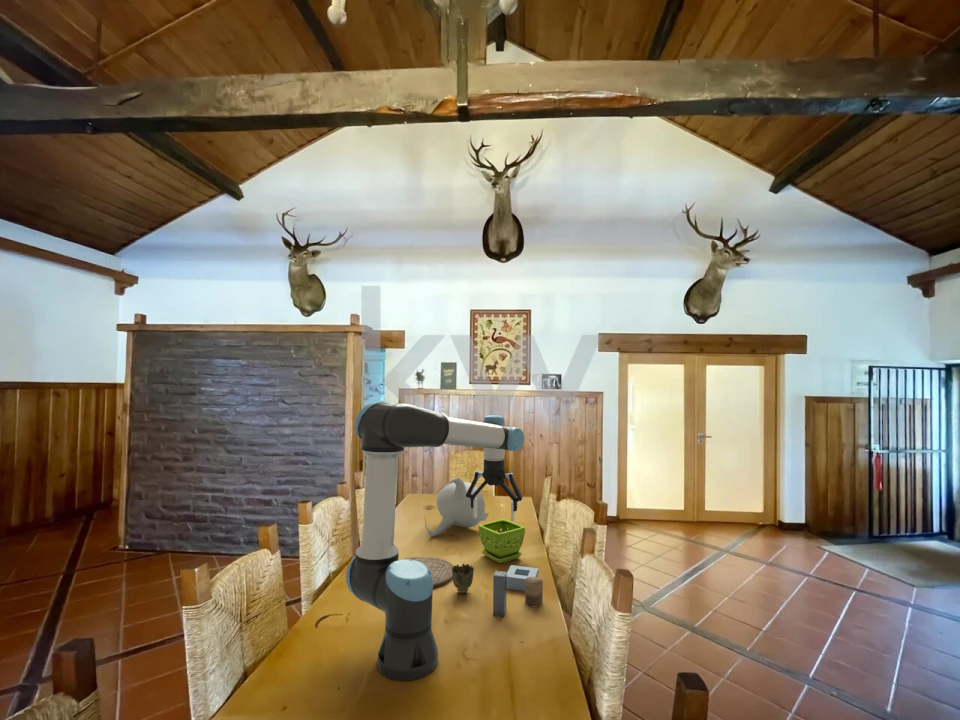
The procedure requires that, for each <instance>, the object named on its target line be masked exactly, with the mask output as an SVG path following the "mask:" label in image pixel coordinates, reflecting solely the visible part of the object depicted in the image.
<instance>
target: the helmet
mask: <svg viewBox="0 0 960 720" xmlns="http://www.w3.org/2000/svg"><path fill="white" fill-rule="evenodd" d="M471 484H472V482H468V481H464V480H463V479H462V478H461V477H454V479H451V480H450V481H449V482H447V483H445V484H444V485H443V486H442V487H440V488H439V490H438V491H436V492H435V493H434V494H433V496H435V495H436V494H437V496H436V507H437V511H438V512H439V514H440V516H441V517H442V519H441V521H440V523H439V524H438V526H437V527H436V528H435V529H434V530H432V531H431V530H429V528H428V526H427V521H426V519H424V524H425V528H426V530H427V531H426V532H427V534H428V535H429V537H430V538H434V537H436V536H439V535H440V534H442V533H443V532H445V531H447V530H448V529H449V528H450V527H451V526H457V527H461V528H467V529H468V528H472V527H473V528H474V527H476V526H477V525H478V524H479V523H480V522H484V521H486V520H487V518H488V516H489V512H486V513H485V507H486V504H485V500H484V497H483V494H482V491H480V492H479V493H478V494H477V495H476V497H475V498H477V517H476V518H473V508H471V499H470V498H469V497H466V493H467V492H468V490H469V488H470V486H471ZM478 488H479V487H477V486H476V485H475V487H474V489H473V491H472V493H471V494H474V492H475V491H476V490H477V489H478ZM425 515H426V514H424V515H423V516H424V517H423V518H426V516H425Z"/></svg>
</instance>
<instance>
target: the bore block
mask: <svg viewBox="0 0 960 720" xmlns="http://www.w3.org/2000/svg"><path fill="white" fill-rule="evenodd" d="M506 572H507V589H508V590H515V591H522V592H523V591H524V592H525V580H526V578H528V577H538V578H539V568H537V567H529V566H523V565H522V566H521V565H515V564H511V565H510V566H509V568H508V570H507V571H506Z"/></svg>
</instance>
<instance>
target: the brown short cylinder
mask: <svg viewBox="0 0 960 720" xmlns="http://www.w3.org/2000/svg"><path fill="white" fill-rule="evenodd" d="M543 582H544V581H543V579H542V578H541V577H539V576H538V577H528V578H526V580H525V591H524V592H525V593H524V594H525V597H524V599H525V600H524V602H525V604H526V605H527V606H529V607H532V606H538V607H540V605H541V606H542V605H543V604H544V603H543V602H544V601H543V594H544V593H543V590H544V589H543V587H544V586H543Z"/></svg>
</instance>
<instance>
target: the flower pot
mask: <svg viewBox="0 0 960 720" xmlns="http://www.w3.org/2000/svg"><path fill="white" fill-rule="evenodd" d="M478 531H479V537H480V542H481V545H482V546H483V548H484V549H482V550H481V553H482V554H483V555H484V557H487V558H488V559H490V560H491V561H494V562H495V563H497V564H498V565H500V564H502V563H507V562H509V561H513V560H516V559H518V558H520V557H521V556H522V555H523V553H522V552H520V550H521V548H522V546H523V543H524V539H525V533H526V527H525V526H523V525H522V524H519V523H516V522H514V521H511V520H508V519H502V518H501V519H498V520H494V521H490V522H486V523H481V524H479V525H478Z"/></svg>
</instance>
